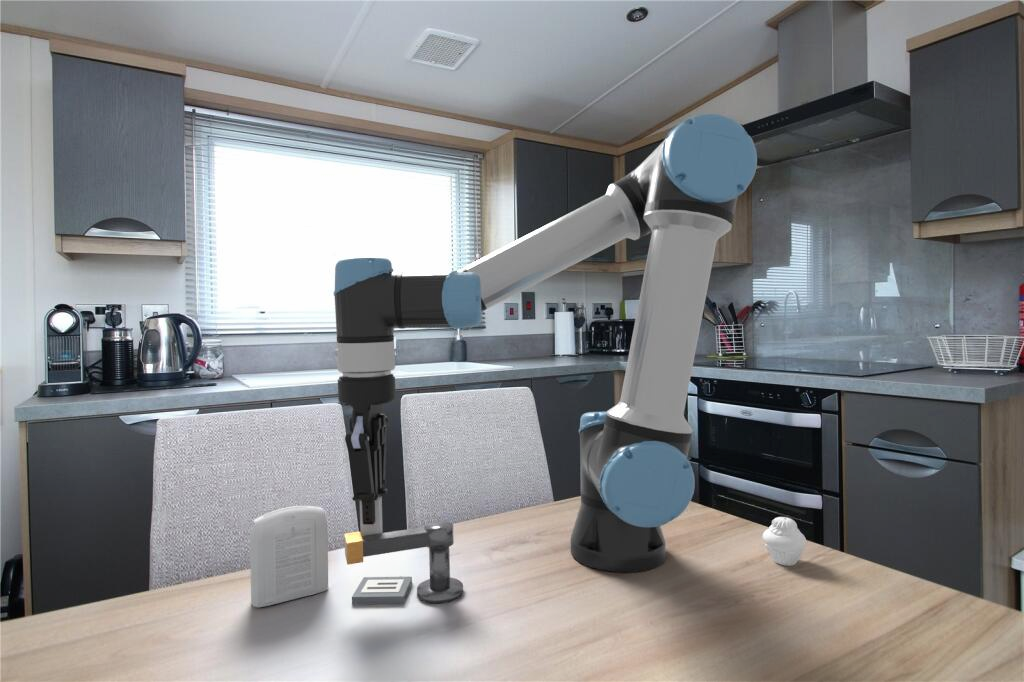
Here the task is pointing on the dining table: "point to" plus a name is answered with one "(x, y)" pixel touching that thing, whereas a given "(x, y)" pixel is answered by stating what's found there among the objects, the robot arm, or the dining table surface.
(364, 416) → the robot arm
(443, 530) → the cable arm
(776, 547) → the muffin
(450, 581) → the round-base stand
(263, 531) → the photo printer
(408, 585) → the label tile
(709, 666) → the dining table surface
